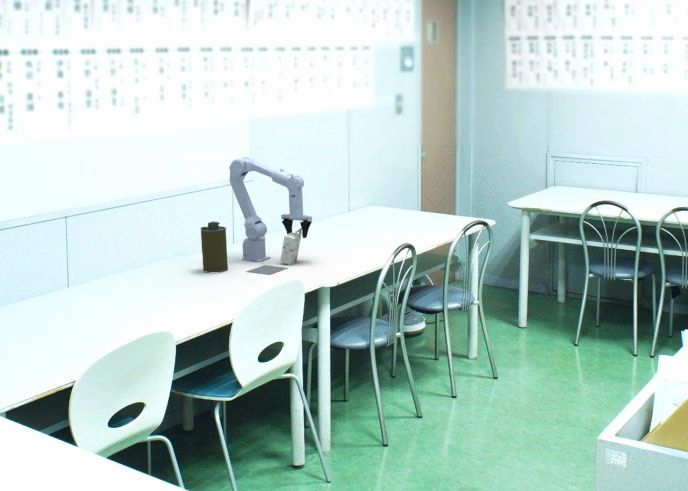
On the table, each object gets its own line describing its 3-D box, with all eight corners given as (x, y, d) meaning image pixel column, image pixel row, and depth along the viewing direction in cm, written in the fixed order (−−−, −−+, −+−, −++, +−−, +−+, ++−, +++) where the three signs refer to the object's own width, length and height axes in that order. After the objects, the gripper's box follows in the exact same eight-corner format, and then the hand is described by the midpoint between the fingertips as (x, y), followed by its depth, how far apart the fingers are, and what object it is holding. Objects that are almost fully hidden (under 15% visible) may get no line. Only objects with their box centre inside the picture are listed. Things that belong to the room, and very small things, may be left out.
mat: (246, 272, 402) (246, 271, 402) (264, 266, 413) (264, 265, 413) (270, 275, 396) (270, 274, 396) (288, 269, 407) (288, 267, 407)
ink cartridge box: (286, 257, 422) (292, 225, 418) (297, 260, 420) (302, 227, 417) (279, 262, 414) (285, 228, 410) (290, 265, 412) (296, 231, 409)
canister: (233, 268, 409) (230, 220, 405) (218, 273, 400) (216, 225, 396) (211, 266, 414) (209, 219, 410) (196, 271, 406) (194, 223, 401)
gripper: (276, 205, 415) (277, 237, 418) (304, 207, 407) (306, 240, 410) (286, 203, 421) (287, 234, 424) (314, 205, 413) (315, 237, 416)
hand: (297, 237), depth 417 cm, fingers open, 7 cm apart
